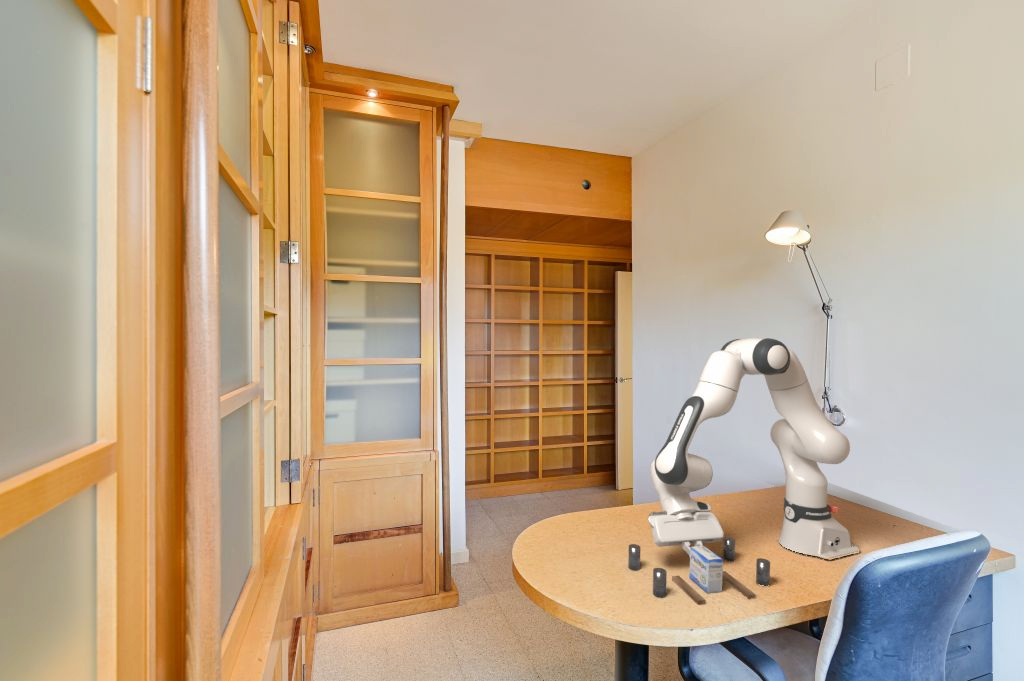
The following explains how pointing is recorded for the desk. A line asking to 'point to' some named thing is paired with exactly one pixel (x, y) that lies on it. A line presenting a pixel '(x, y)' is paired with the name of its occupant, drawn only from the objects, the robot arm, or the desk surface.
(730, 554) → the spacer posts
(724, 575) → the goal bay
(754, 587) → the desk surface
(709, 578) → the medicine box
